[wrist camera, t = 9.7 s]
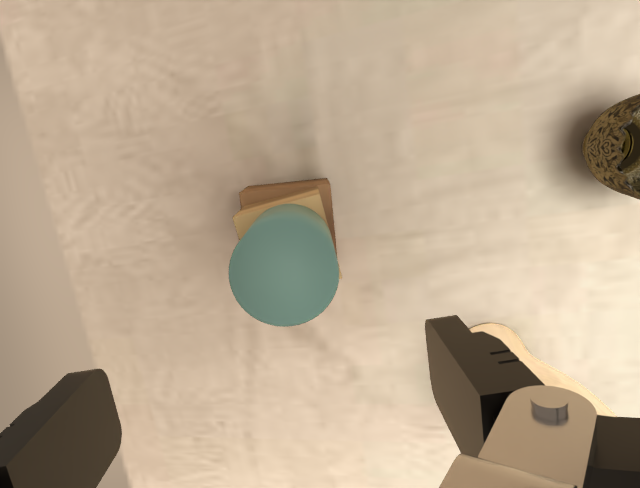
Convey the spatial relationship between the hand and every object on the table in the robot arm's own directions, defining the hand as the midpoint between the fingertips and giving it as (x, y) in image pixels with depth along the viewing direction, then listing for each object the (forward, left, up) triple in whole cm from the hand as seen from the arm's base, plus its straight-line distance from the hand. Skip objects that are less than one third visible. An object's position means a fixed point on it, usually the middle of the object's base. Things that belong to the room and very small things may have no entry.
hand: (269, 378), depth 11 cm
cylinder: (0, 0, -15) cm, 15 cm away
